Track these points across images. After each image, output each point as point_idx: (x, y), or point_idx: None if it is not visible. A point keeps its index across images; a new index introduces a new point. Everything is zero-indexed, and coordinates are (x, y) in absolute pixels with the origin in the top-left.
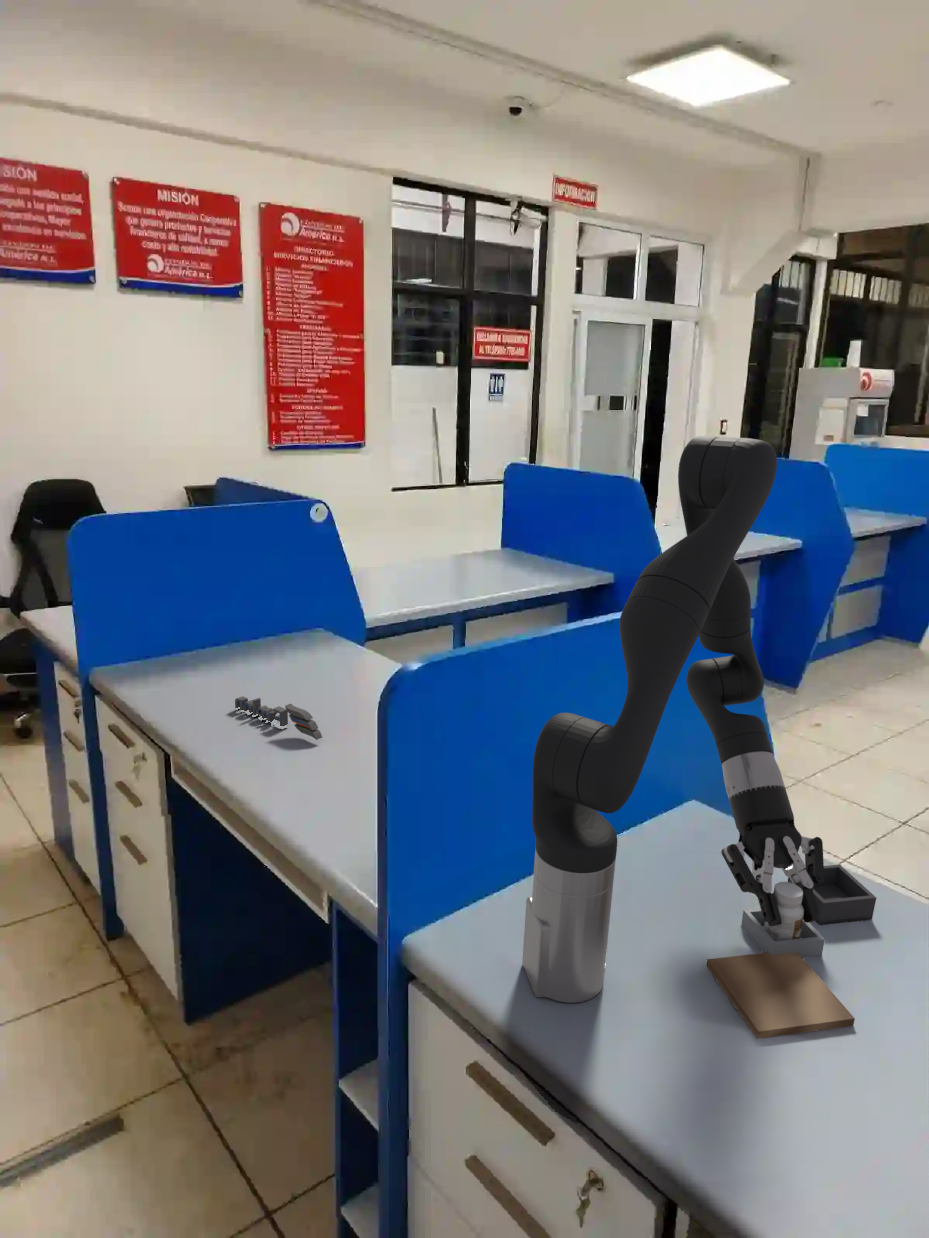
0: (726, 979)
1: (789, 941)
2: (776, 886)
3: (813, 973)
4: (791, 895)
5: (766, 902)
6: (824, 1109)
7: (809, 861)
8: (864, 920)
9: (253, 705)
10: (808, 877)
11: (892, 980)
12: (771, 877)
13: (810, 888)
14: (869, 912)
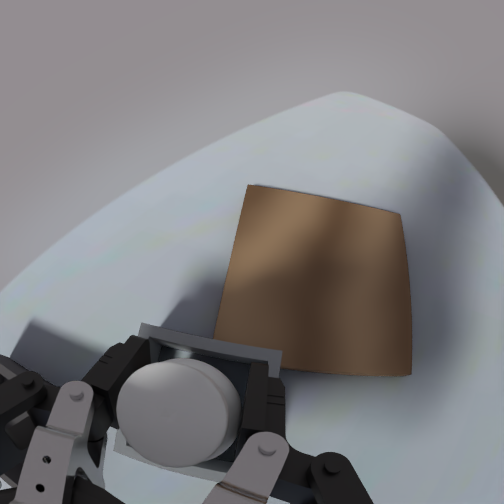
0: (404, 316)
1: (231, 348)
2: (206, 450)
3: (230, 280)
4: (189, 381)
5: (278, 417)
6: (363, 143)
7: (6, 446)
8: (17, 363)
9: None
10: (60, 404)
11: (103, 240)
12: (225, 476)
13: (84, 382)
14: (3, 357)
